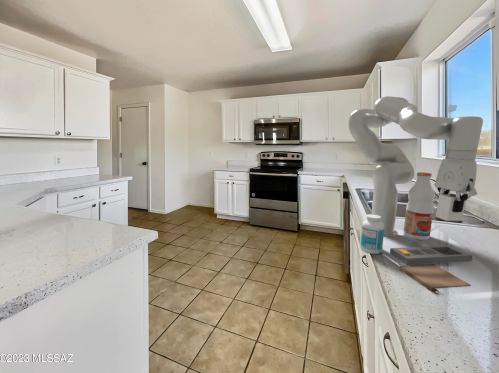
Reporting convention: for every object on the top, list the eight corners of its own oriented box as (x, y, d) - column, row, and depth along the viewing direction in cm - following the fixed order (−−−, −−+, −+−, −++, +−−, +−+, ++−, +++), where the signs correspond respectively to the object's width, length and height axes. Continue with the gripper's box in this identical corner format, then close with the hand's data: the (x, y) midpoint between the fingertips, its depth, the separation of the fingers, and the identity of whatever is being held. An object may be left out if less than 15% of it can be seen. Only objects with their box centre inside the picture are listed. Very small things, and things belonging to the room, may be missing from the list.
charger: (435, 216, 86) (439, 192, 84) (449, 216, 87) (454, 192, 85) (446, 220, 82) (451, 196, 80) (461, 220, 82) (466, 195, 81)
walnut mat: (399, 269, 79) (400, 265, 79) (433, 267, 80) (434, 263, 80) (430, 291, 67) (431, 287, 67) (469, 288, 68) (470, 284, 68)
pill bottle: (375, 246, 96) (378, 213, 94) (386, 254, 89) (390, 219, 86) (356, 246, 96) (359, 213, 94) (365, 255, 89) (369, 219, 86)
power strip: (389, 256, 88) (390, 246, 87) (449, 253, 91) (451, 243, 90) (405, 267, 80) (407, 256, 80) (471, 263, 83) (473, 253, 82)
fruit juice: (410, 232, 111) (418, 171, 107) (433, 239, 103) (443, 173, 98) (398, 235, 107) (405, 172, 102) (421, 243, 99) (430, 174, 94)
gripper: (428, 153, 88) (420, 202, 91) (476, 158, 71) (463, 218, 75) (447, 153, 88) (438, 202, 92) (499, 158, 72) (485, 217, 76)
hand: (450, 209), depth 84 cm, fingers closed on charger, 4 cm apart
